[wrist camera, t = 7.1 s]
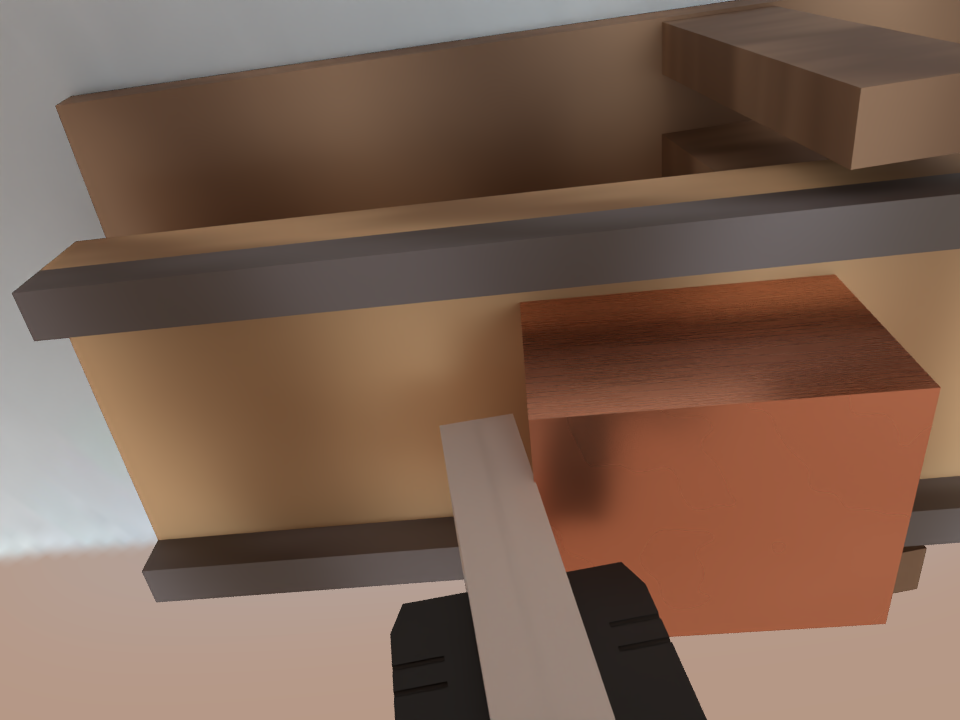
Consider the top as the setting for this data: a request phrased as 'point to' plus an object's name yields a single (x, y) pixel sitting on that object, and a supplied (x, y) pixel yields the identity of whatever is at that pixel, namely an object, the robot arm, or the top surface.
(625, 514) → the terracotta wooden block
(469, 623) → the robot arm
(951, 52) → the stand
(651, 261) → the beam
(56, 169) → the top surface
